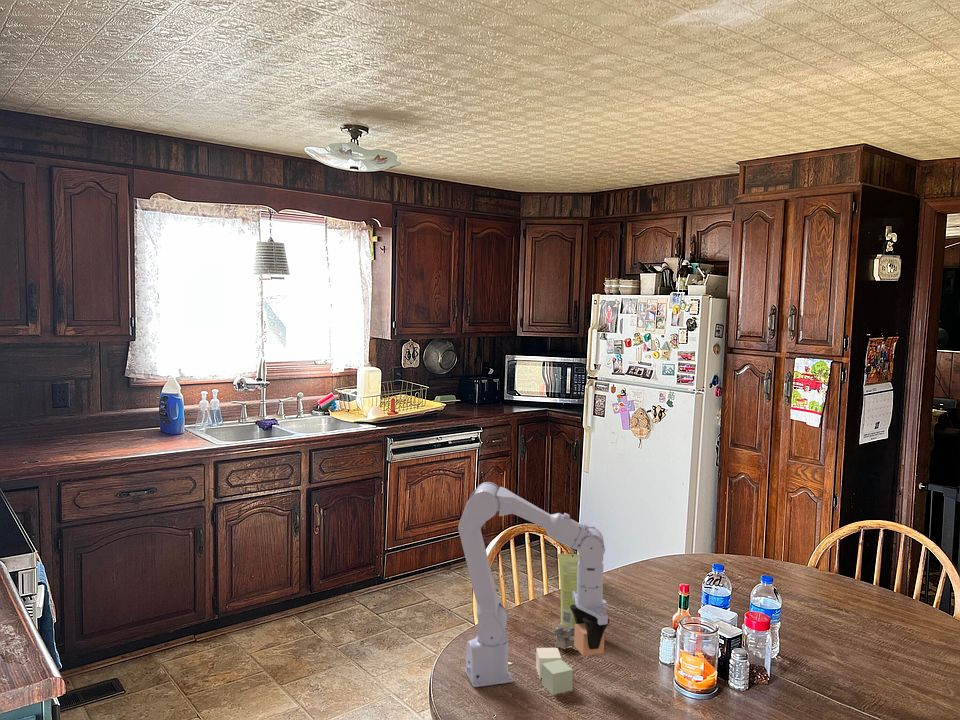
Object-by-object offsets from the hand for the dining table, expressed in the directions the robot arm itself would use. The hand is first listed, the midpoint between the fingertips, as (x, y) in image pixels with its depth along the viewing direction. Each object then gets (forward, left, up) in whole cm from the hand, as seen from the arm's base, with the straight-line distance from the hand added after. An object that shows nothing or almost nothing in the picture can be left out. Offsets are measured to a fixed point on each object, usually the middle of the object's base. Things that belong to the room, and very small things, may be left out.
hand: (588, 642), depth 162 cm
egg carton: (+5, +19, -10) cm, 22 cm away
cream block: (-7, +6, -10) cm, 13 cm away
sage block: (-7, 0, -10) cm, 12 cm away
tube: (+8, +28, -10) cm, 31 cm away
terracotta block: (0, 0, -2) cm, 2 cm away
